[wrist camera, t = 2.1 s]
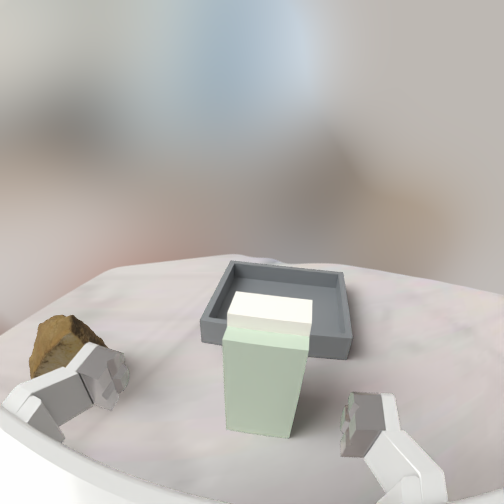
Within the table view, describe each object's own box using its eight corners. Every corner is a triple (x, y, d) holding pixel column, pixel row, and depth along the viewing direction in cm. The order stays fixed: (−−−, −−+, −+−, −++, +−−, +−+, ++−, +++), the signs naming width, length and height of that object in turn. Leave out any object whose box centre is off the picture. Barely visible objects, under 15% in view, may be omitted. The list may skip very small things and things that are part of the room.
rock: (12, 400, 22) (85, 403, 23) (-2, 320, 24) (69, 313, 25) (58, 384, 33) (122, 382, 34) (48, 321, 34) (111, 314, 35)
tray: (339, 291, 50) (343, 272, 48) (346, 359, 35) (352, 338, 34) (230, 279, 52) (230, 260, 51) (201, 341, 38) (199, 320, 36)
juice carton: (294, 392, 31) (312, 289, 25) (288, 438, 26) (311, 337, 20) (238, 385, 32) (240, 281, 26) (226, 429, 26) (221, 326, 21)
